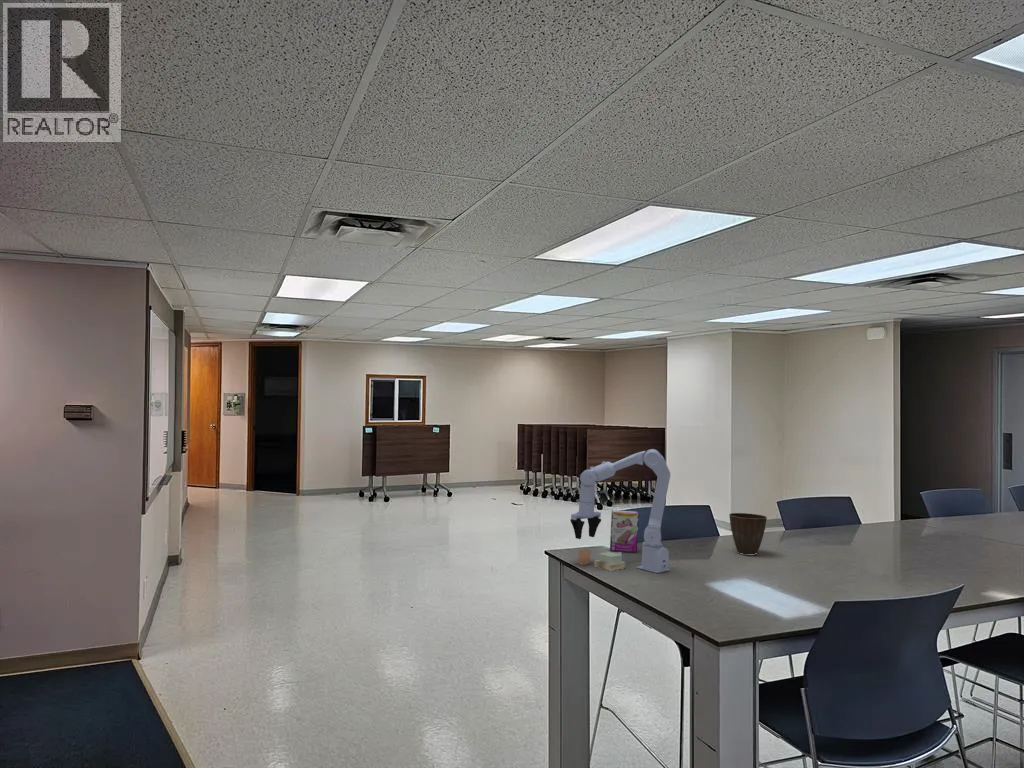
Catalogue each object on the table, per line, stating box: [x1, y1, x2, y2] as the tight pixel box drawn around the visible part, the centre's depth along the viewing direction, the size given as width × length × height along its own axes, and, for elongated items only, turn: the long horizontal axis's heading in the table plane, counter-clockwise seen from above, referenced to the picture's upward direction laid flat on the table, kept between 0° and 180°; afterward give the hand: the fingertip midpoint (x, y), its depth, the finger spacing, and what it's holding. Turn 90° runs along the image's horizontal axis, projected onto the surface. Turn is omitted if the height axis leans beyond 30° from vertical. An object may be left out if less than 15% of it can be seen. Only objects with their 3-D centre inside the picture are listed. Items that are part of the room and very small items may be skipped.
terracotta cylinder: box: [577, 548, 591, 565], centre depth 256 cm, size 5×5×5 cm
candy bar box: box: [609, 509, 640, 554], centre depth 281 cm, size 11×5×16 cm, turn 84°
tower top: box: [598, 551, 623, 564], centre depth 251 cm, size 6×6×2 cm
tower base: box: [593, 559, 626, 572], centre depth 251 cm, size 8×8×3 cm
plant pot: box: [729, 512, 768, 554], centre depth 286 cm, size 15×15×16 cm
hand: (584, 537), depth 257 cm, fingers open, 7 cm apart
